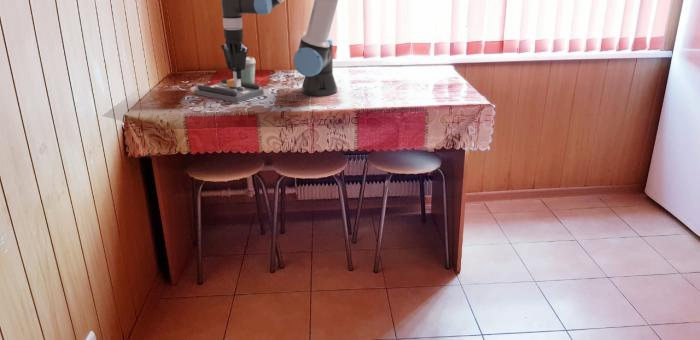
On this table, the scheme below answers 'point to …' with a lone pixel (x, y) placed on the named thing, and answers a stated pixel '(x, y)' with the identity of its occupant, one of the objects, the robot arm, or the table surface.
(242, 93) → the slide switch panel
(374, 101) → the table surface
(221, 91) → the pair of grey bars
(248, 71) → the coffee cup
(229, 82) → the lever
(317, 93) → the robot arm
